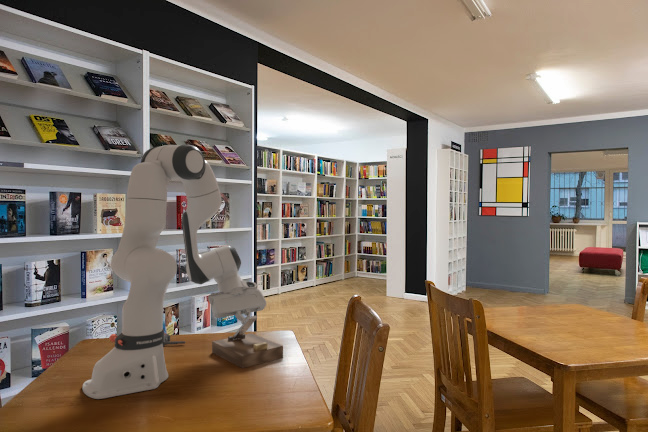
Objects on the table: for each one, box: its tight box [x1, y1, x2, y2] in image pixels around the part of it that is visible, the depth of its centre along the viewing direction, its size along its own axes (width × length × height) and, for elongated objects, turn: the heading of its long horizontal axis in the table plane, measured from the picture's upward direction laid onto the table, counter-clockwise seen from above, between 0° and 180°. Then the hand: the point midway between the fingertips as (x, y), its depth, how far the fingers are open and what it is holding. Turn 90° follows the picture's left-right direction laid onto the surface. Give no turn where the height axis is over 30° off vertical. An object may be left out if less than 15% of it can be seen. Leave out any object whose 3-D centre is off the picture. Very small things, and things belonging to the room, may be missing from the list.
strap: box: [232, 315, 258, 339], centre depth 152 cm, size 3×14×1 cm
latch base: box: [211, 332, 284, 369], centre depth 150 cm, size 16×20×6 cm
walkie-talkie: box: [164, 331, 186, 346], centre depth 163 cm, size 9×4×20 cm
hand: (247, 323), depth 150 cm, fingers closed, pressing on strap
